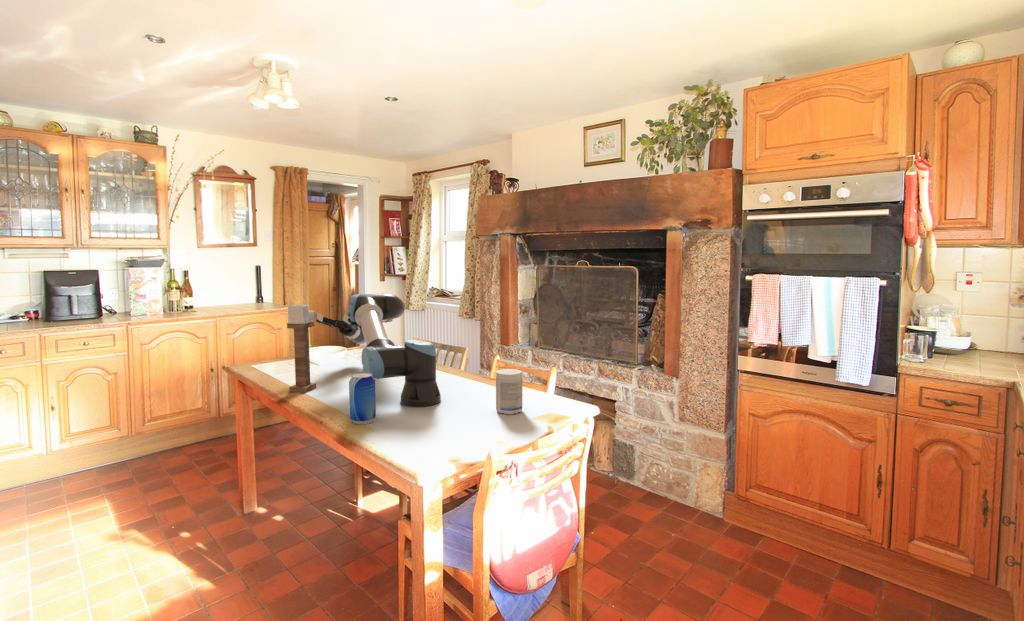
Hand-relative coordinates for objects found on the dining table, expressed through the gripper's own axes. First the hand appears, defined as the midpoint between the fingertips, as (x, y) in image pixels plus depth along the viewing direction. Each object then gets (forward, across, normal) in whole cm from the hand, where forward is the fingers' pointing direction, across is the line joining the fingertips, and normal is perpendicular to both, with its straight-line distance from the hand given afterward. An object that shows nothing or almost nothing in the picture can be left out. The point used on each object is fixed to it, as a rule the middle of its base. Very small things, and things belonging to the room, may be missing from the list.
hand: (329, 315), depth 226 cm
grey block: (+14, +3, -7) cm, 16 cm away
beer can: (+36, -40, -45) cm, 70 cm away
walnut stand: (+5, 0, -34) cm, 34 cm away
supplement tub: (+18, -87, -34) cm, 95 cm away
